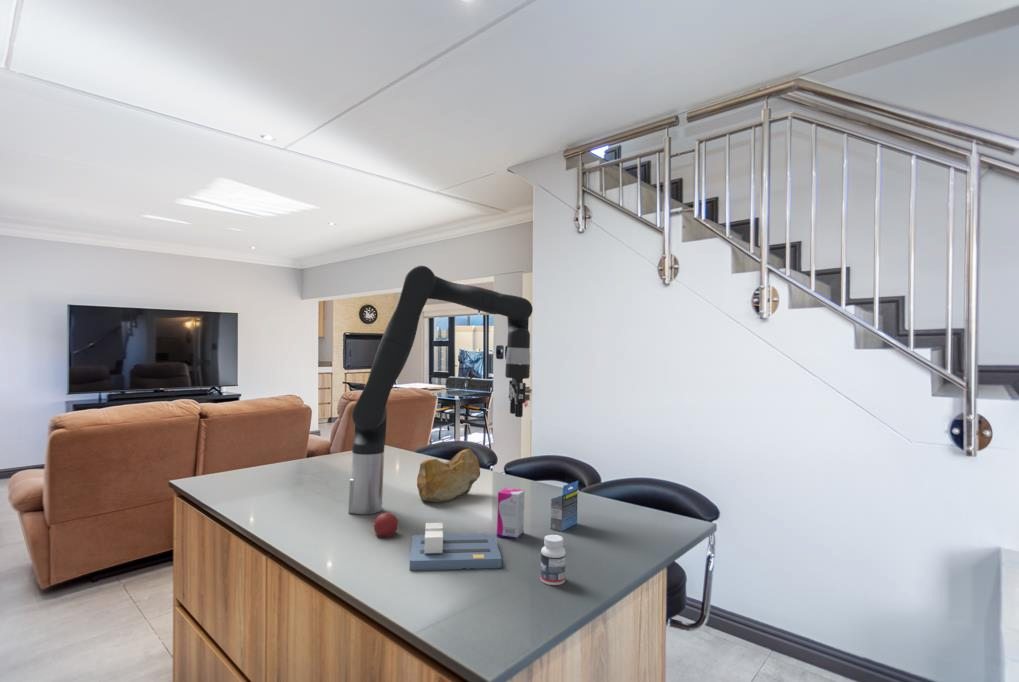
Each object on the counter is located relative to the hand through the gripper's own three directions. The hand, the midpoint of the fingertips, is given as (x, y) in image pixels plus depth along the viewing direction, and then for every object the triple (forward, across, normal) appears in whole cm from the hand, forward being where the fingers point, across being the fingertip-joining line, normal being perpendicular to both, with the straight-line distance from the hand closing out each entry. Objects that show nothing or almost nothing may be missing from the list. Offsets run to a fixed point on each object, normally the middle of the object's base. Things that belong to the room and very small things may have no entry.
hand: (516, 415), depth 159 cm
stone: (+29, -17, -20) cm, 40 cm away
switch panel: (+29, +35, -20) cm, 49 cm away
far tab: (+27, +32, -25) cm, 48 cm away
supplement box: (+29, +22, -5) cm, 37 cm away
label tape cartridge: (+29, +17, +12) cm, 35 cm away
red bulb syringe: (+29, +20, -38) cm, 52 cm away
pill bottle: (+29, +50, -1) cm, 58 cm away
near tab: (+27, +38, -25) cm, 53 cm away
